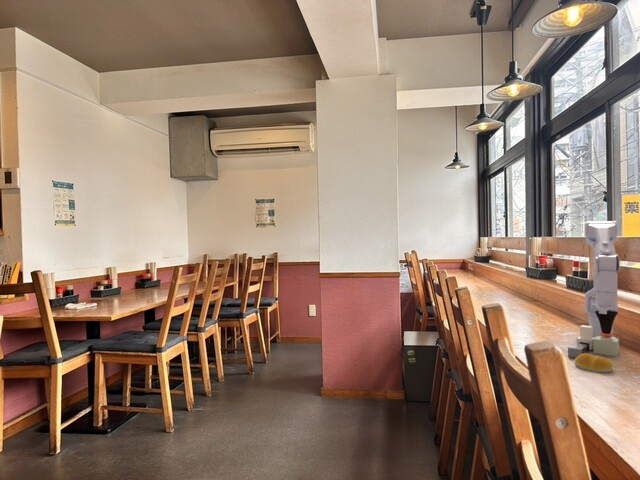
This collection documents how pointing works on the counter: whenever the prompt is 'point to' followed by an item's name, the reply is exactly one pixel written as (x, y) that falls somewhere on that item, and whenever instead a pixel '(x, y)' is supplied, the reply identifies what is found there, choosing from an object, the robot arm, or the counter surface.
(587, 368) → the bread roll
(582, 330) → the carriage
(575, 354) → the rail
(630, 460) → the counter surface
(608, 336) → the red push knob
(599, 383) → the counter surface
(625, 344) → the counter surface
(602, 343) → the box
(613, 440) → the counter surface
